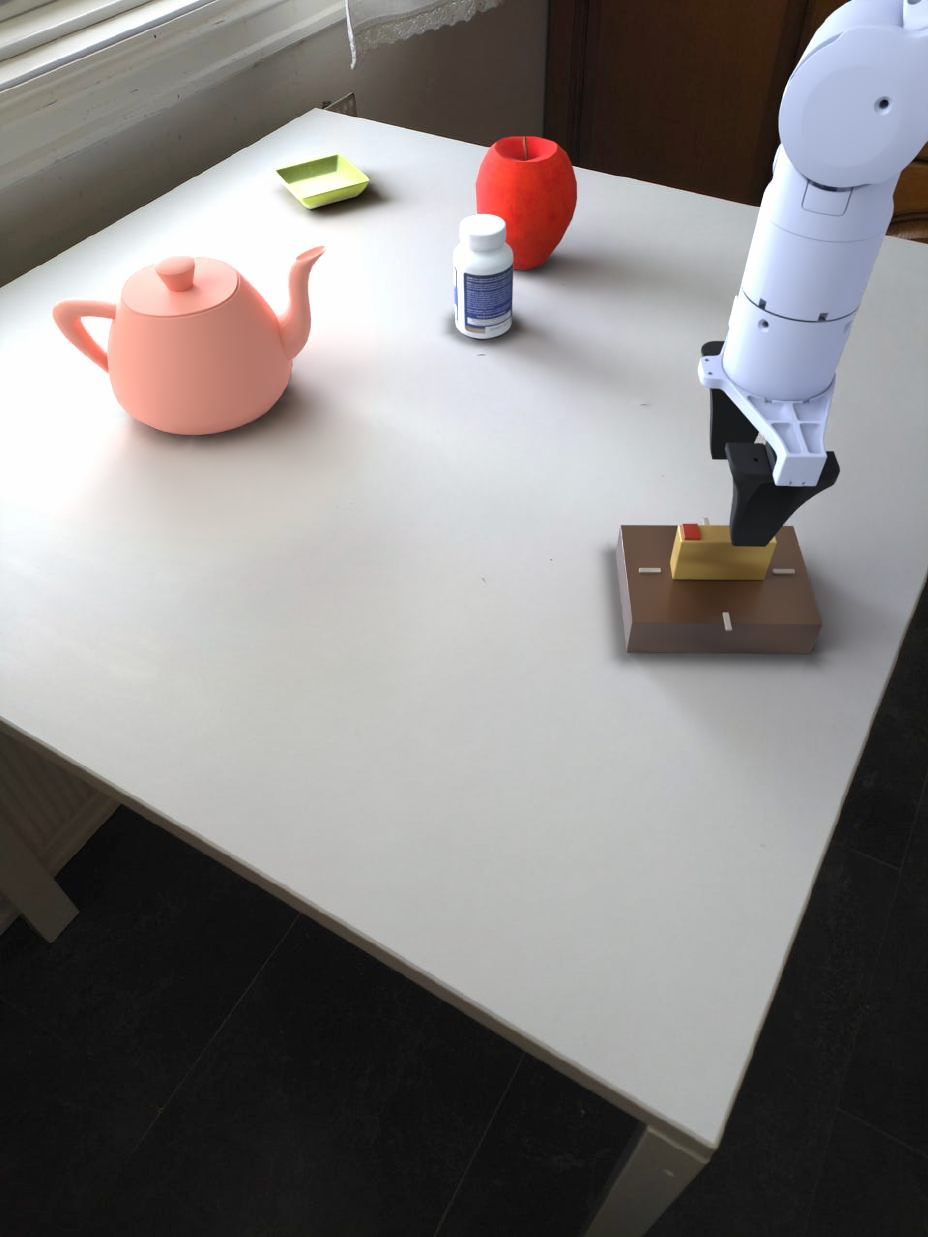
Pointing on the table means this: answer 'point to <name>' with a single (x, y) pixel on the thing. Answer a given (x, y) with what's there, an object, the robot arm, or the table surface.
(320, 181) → the green square tray
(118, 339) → the teapot
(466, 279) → the pill bottle
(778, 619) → the lock plate
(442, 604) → the table surface
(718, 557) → the handle
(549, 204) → the apple
